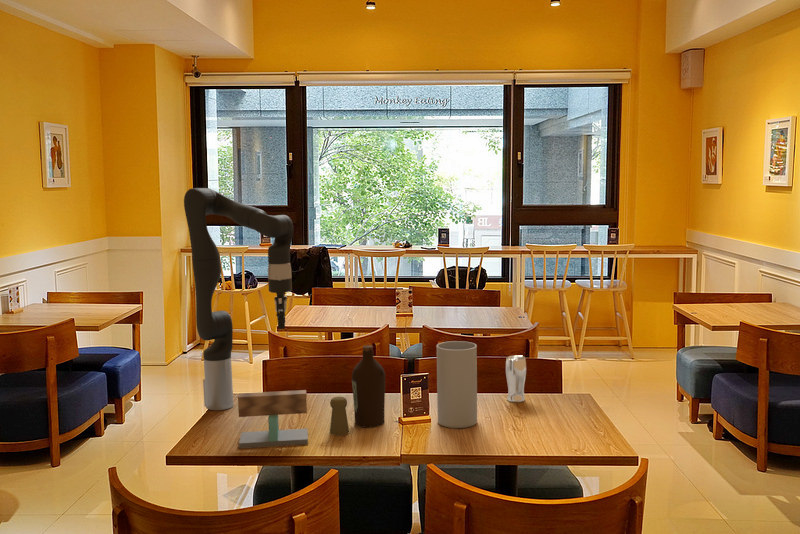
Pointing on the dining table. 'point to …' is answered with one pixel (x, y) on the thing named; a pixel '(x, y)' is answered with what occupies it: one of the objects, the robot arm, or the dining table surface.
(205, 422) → the dining table surface
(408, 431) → the dining table surface
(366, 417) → the olive oil
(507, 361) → the beer glass
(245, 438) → the balance stand
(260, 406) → the walnut bar
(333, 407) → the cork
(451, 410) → the cylinder vase
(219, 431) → the dining table surface
